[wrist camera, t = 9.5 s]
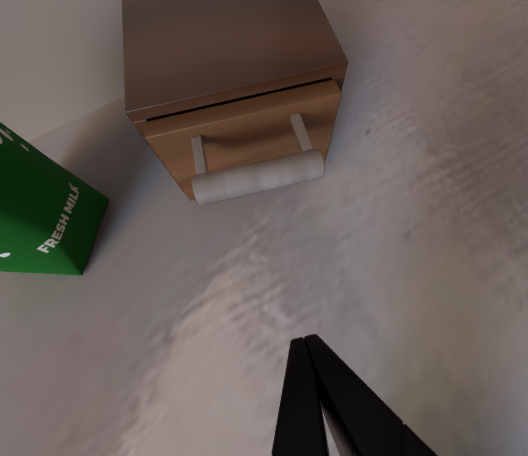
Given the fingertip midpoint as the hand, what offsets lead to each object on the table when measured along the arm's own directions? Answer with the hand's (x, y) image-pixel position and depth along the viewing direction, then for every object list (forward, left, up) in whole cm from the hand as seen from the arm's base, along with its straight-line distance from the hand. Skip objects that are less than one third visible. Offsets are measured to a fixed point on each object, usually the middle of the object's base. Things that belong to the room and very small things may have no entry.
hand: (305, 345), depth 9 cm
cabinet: (+14, -15, -11) cm, 23 cm away
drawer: (+12, -12, -10) cm, 19 cm away
